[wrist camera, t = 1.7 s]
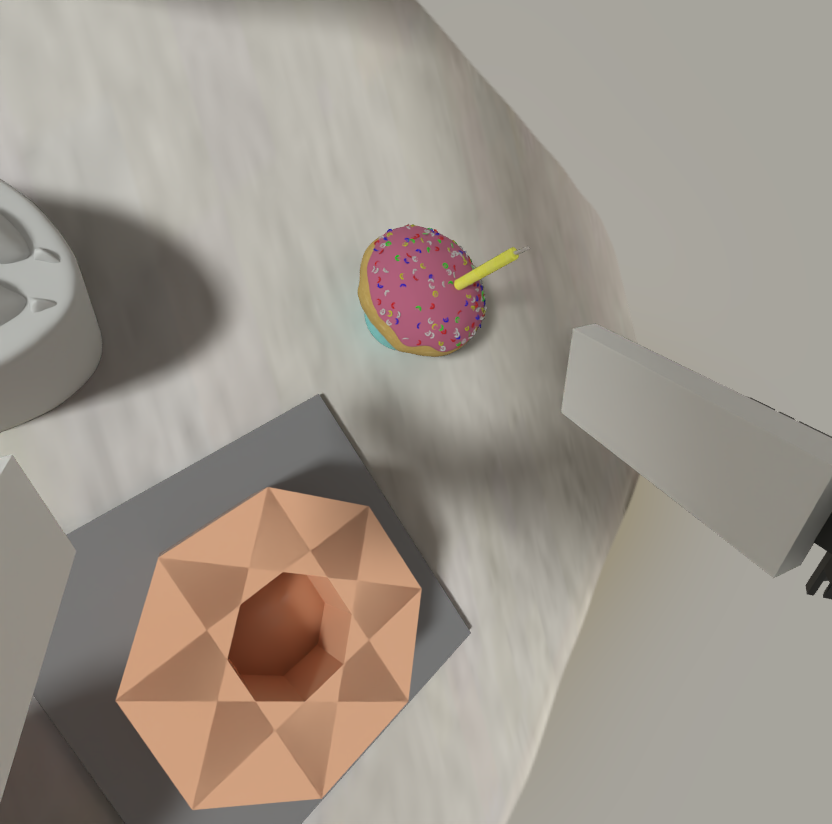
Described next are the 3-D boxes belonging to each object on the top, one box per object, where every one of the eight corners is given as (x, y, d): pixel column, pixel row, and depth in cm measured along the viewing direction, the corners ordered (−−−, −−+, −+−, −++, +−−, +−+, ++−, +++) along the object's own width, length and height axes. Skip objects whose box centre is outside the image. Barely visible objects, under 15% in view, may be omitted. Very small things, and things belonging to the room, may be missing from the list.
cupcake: (458, 307, 36) (576, 216, 25) (423, 399, 32) (543, 336, 22) (364, 243, 33) (453, 111, 23) (314, 335, 29) (394, 229, 19)
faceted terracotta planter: (81, 603, 21) (59, 620, 16) (304, 460, 27) (330, 446, 23) (228, 815, 21) (244, 885, 17) (413, 628, 28) (458, 645, 23)
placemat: (-35, 592, 19) (-39, 593, 19) (316, 395, 29) (318, 393, 28) (202, 925, 20) (203, 933, 20) (466, 631, 30) (470, 632, 29)
